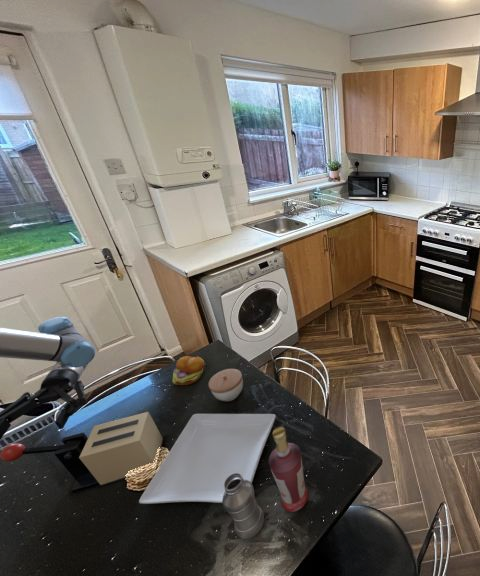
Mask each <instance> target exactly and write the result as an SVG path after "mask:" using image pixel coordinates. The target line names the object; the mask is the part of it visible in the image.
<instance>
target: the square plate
mask: <svg viewBox="0 0 480 576" xmlns="http://www.w3.org/2000/svg"><path fill="white" fill-rule="evenodd" d="M276 417H277V415H276V414H274V413H194V414H192V416H190V418H189V420H188V422H187V423H186V424H185V427H184V428H183V430H182V431H181V433H180V434H179V436H178V437H177V439H176V441H175V443H174V444H173V446H172V447H171V449H170V450H169V452H168V453H167V455H166V456H165V459H163V461H162V463H161V464H160V466H159V467H158V468H157V471H156V473H155V474H154V476H153V477H152V478H151V481H150V482H149V484H147V487H146V488H145V490H144V491H143V493H142V494H141V496H140V498H139V500H138V503H139V504H141V505H151V504H166V503H167V504H168V503H187V502H188V503H189V502H191V503H192V502H194V503H195V502H197V503H198V502H199V503H215V504H216V503H218V504H222V500H223V494H224V492H225V488H224V482H225V480H226V479H227V478H228V477H229V476H230V475H231V474H234V473H239V474H241V475H242V478H243V479H246V480H248V481H250V482H251V483H252V484H253V481H254V477H255V474H256V471H257V469H258V465H259V462H260V459H261V456H262V455H263V452H264V448H265V446H266V443H267V440H268V438H269V435H270V434H271V430H272V428H273V426H274V423H275V421H276Z"/></svg>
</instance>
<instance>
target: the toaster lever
mask: <svg viewBox="0 0 480 576" xmlns="http://www.w3.org/2000/svg"><path fill="white" fill-rule="evenodd" d="M76 445H78V447H79V448H81V440H74V441H67V443H66V444H57V445H45V446H34V447H26V446H25V445H24V444H23V443H20V442H16V443H15V442H14V443H10V444H9V445H6V446H5V447H3V449H2V450H1V452H0V459H1V460H2V461H3V462H13V461H16V460H18V459H20V458H21V457H22V456H23V455H32V454H44V453H55V452H56V451H58V450H61V449H65V448H68V447H72V446H76Z"/></svg>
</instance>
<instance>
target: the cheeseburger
mask: <svg viewBox="0 0 480 576" xmlns="http://www.w3.org/2000/svg"><path fill="white" fill-rule="evenodd" d="M204 368H205V360H204V359H203V358H202V357H200V356H195V355H194V356H190V355H185V356H181V357H180V358H179V359H177V361H176V363H175V368H174V369H173V373H172V383H173V384H174V385H175V386H188V385H193V384H194V383H196V382H197V381H198V380H199V379H201V376H202V374H203V372H204Z"/></svg>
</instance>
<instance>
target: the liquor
mask: <svg viewBox="0 0 480 576" xmlns="http://www.w3.org/2000/svg"><path fill="white" fill-rule="evenodd" d="M272 437H273V441H274V442H275V445H276V446H275V448H274V449H273V450H272V451H271V453H270V454H269V457H268V465H269V468H270V472H271V473H272V477H273V480H274V481H275V484H276V486H277V490H278V491H279V494H280V496H281V499H280V503H281V507H282V508H283V510H285V511H287V512H289V513H294V512H297V511H300V510H301V509H302V508H303V507H304V506H305V504H306V503H307V502H308V499H309V491H308V488H307V487H306V483H305V476H304V465H303V458H302V451H301V448H300V447H299V446H298V444H295V443H293V442H288V440H287V433H286V429H285V427H284V426H277V427H275V428H274V429H273V431H272Z"/></svg>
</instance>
